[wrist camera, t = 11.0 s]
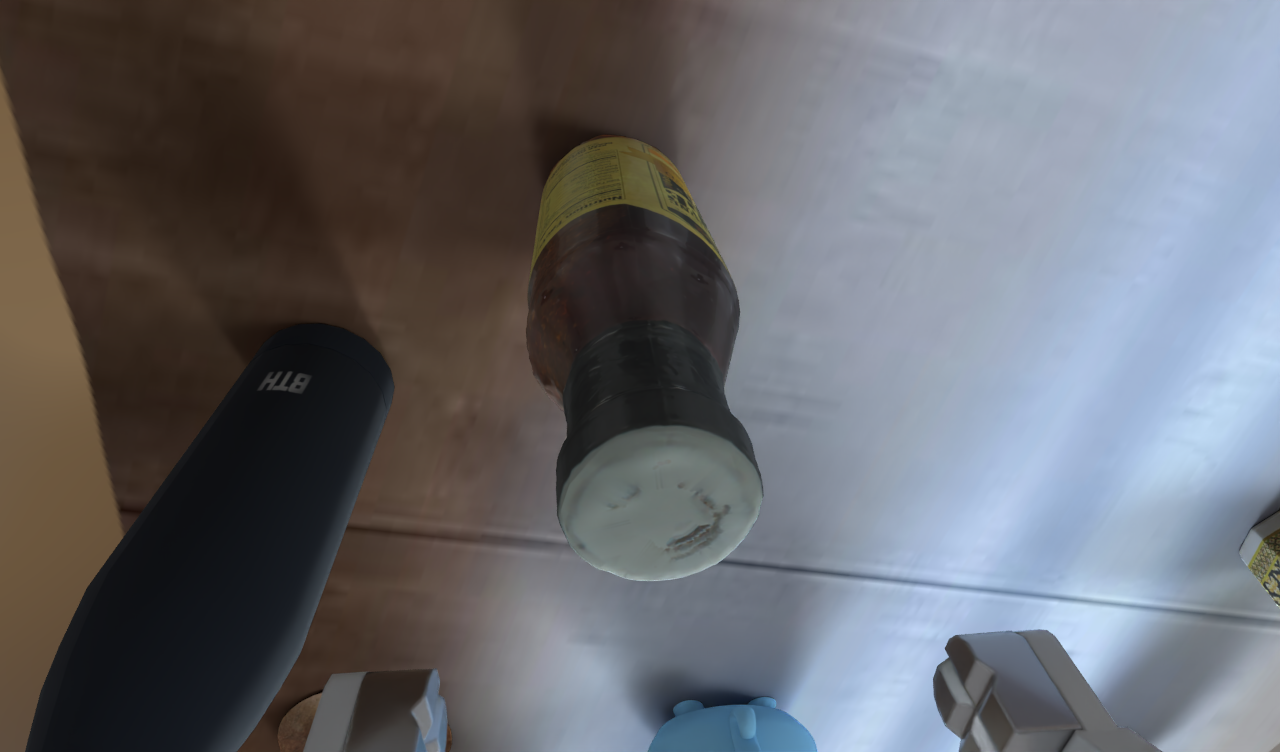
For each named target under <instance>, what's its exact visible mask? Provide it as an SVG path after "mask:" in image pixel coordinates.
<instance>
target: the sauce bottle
mask: <svg viewBox="0 0 1280 752" xmlns="http://www.w3.org/2000/svg"><path fill="white" fill-rule="evenodd" d="M528 306H529V313H528V318H527V328H526V337H527V349H528V351H529V359H530V362H531V365H532V370H533V375H534V376H535V378H536V379H537V381H538V383H539V384H540V386H541V387H542V388H543V389H544V391H545V392H546V394H547V396H549V398H550V399H551V400H552V401H554V402H555V403H556V405H557V406H558V407H559V408H560V410H562V411H563V412H564V413H565V417H566V421H567V438H566V440H565V441H564V443H563V446H562V448H561V450H560V453H559V455H558V459H557V468H556V476H557V482H556V495H557V516H558V519H559V522H560V526H561V528H562V530H563V532H564V534H565V536H566V538H567V541H568V543H569V545H570V547H571V548H572V549H573V550H574V551H575V552H576V553H577V554H578V555H579V556H580V557H581V558H582V559H583V560H585V561H586V562H587V563H589V564H590V565H592V566H593V567H595V568H597V569H600V570H604V571H608V572H611V573H613V574H615V575H616V576H619V577H623V578H626V579H630V580H635V581H661V580H672V579H679V578H683V577H686V576H689V575H692V574H695V573H698V572H700V571H703V570H705V569H707V568H709V567H711V566H714V565H716V564H717V563H718V562H720V561H721V560H722V559H724V558H725V557H726V556H727V555H728V554H730V553H731V552H732V551H733V550H734V549H736V547H737V546H738V545H739V544H740V543H741V542H742V541H743V539H744V538H745V537H746V536H747V535H748V533H749V532H750V530H751V528H752V527H753V525H754V523H755V522H756V520H757V518H758V516H759V512H760V506H761V502H762V498H763V485H762V479H761V474H760V471H759V469H758V466H757V462H756V460H755V455H754V451H753V447H752V443H751V441H750V438H749V436H748V434H747V432H746V430H745V429H744V427H743V425H742V424H741V423H740V421H739V420H738V419H737V418H736V417H734V416H733V415H732V414H731V412H730V409H729V407H728V404H727V400H726V397H725V394H724V385H725V381H726V377H727V373H728V369H729V364H730V360H731V356H732V352H733V348H734V344H735V340H736V336H737V332H738V328H739V317H740V308H739V300H738V295H737V291H736V288H735V285H734V283H733V280H732V278H731V276H730V274H729V271H728V269H727V267H726V265H725V263H724V261H723V259H722V257H721V255H720V253H719V251H718V249H717V247H716V245H715V243H714V240H713V238H712V237H711V234H710V232H709V231H708V229H707V227H706V224H705V223H704V221H703V219H702V217H701V214H700V212H699V210H698V209H697V207H696V205H695V203H694V201H693V199H692V197H691V195H690V193H689V191H688V189H687V186H686V184H685V182H684V180H683V178H682V176H681V175H680V173H679V171H678V169H677V168H676V167H675V166H674V164H673V163H672V162H671V161H670V160H669V159H668V158H667V157H666V156H665V155H663V154H662V153H661V152H660V151H659V150H658V149H657V148H655V147H652V146H650V145H648V144H646V143H644V142H641V141H638V140H636V139H634V138H627V137H625V136H617V135H600V136H597V137H595V138H593V139H590V140H588V141H586V142H582V144H581V145H579V146H577V147H575V148H574V149H573V150H571V151H570V152H569V153H568V154H567V155H566V156H564V157H563V158H562V159H561V160H559V161H558V162H557V164H556V165H555V166H554V168H553V169H552V170H551V172H550V174H549V178H548V180H547V182H546V184H545V187H544V190H543V194H542V198H541V205H540V211H539V218H538V224H537V231H536V237H535V244H534V252H533V258H532V264H531V271H530V278H529V287H528Z"/></svg>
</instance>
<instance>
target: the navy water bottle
mask: <svg viewBox="0 0 1280 752" xmlns="http://www.w3.org/2000/svg"><path fill="white" fill-rule="evenodd" d="M393 392H394V383H393V378H392V374H391V370H390V368H389V366H388V365H387V363H386V362H385V360H384V358H383V357H382V355H381V354H380V352H378V351H377V350H376V349H375V348H374V347H373V346H372V345H370V344H369V343H368V342H367V341H366V340H365V339H363V338H361V337H359V336H357V335H355V334H353V333H351V332H349V331H347V330H345V329H343V328H338V327H334V326H330V325H325V324H298V325H295V326H292V327H289V328H286V329H283V330H280V331H278V332H277V333H276V334H274V335H273V336H272V337H271V338H269V339H268V340H267V341H266V342H264V344H263V345H262V346H261V348H260V349H259V350H258V352H257V353H256V355H255V356H254V357H253V359H252V360H251V362H250V363H249V364H248V366H247V367H246V368H245V370H244V371H243V373H242V374H241V375H240V377H239V378H238V380H237V381H236V382H235V384H234V385H233V386H232V388H231V389H230V391H229V392H228V393H227V395H226V396H225V398H224V399H223V400H222V402H221V403H220V404H219V406H218V407H217V409H216V410H215V411H214V413H213V414H212V416H211V417H210V418H209V420H208V421H207V422H206V424H205V425H204V427H203V428H202V429H201V431H200V432H199V434H198V435H197V436H196V438H195V439H194V440H193V442H192V443H191V445H190V446H189V447H188V449H187V450H186V452H185V453H184V454H183V456H182V457H181V458H180V460H179V461H178V463H177V464H176V465H175V467H174V468H173V470H172V471H171V472H170V474H169V475H168V476H167V478H166V479H165V481H164V482H163V483H162V485H161V486H160V488H159V489H158V490H157V492H156V493H155V494H154V496H153V497H152V499H151V500H150V501H149V503H148V504H147V506H146V507H145V508H144V510H143V511H142V512H141V514H140V515H139V517H138V518H137V519H136V521H135V522H134V524H133V525H132V526H131V528H130V529H129V531H128V532H127V533H126V535H125V536H124V537H123V539H122V540H121V542H120V543H119V544H118V546H117V547H116V549H115V550H114V551H113V553H112V554H111V555H110V557H109V558H108V560H107V561H106V563H105V564H104V565H103V567H102V568H101V569H100V571H99V572H98V573H97V575H96V576H95V578H94V579H93V581H92V582H91V583H90V585H89V586H88V587H87V589H86V591H85V593H84V596H83V597H82V600H81V602H80V604H79V606H78V608H77V610H76V612H75V614H74V616H73V618H72V620H71V623H70V625H69V627H68V629H67V631H66V633H65V635H64V637H63V640H62V642H61V644H60V646H59V648H58V651H57V653H56V655H55V658H54V660H53V663H52V665H51V668H50V670H49V673H48V675H47V677H46V680H45V682H44V685H43V687H42V690H41V693H40V697H39V700H38V704H37V708H36V712H35V716H34V720H33V723H32V727H31V731H30V735H29V738H28V742H27V746H26V751H25V752H237V751H238V749H239V748H240V747H241V746H242V744H243V743H244V742H245V740H246V739H247V738H248V736H249V735H250V734H251V732H252V731H253V730H254V728H255V727H256V726H257V724H258V722H259V721H260V719H261V718H262V716H263V715H264V713H265V711H266V710H267V708H268V707H269V705H270V704H271V702H272V700H273V699H274V697H275V696H276V694H277V693H278V691H279V689H280V688H281V686H282V684H283V683H284V681H285V679H286V677H287V676H288V674H289V672H290V670H291V669H292V667H293V665H294V663H295V662H296V660H297V658H298V656H299V655H300V653H301V650H302V647H303V645H304V642H305V639H306V636H307V634H308V631H309V628H310V625H311V623H312V620H313V617H314V614H315V612H316V609H317V606H318V603H319V601H320V598H321V595H322V592H323V590H324V587H325V584H326V582H327V579H328V576H329V573H330V571H331V568H332V565H333V562H334V560H335V557H336V554H337V551H338V549H339V546H340V543H341V540H342V538H343V535H344V532H345V529H346V527H347V524H348V521H349V518H350V516H351V513H352V510H353V507H354V505H355V502H356V499H357V496H358V494H359V491H360V488H361V486H362V483H363V480H364V477H365V475H366V472H367V469H368V466H369V464H370V461H371V458H372V455H373V453H374V450H375V447H376V444H377V442H378V439H379V436H380V433H381V431H382V428H383V425H384V422H385V420H386V417H387V414H388V411H389V409H390V406H391V403H392V398H393Z"/></svg>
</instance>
